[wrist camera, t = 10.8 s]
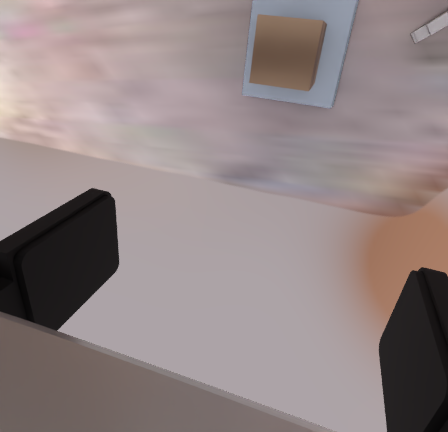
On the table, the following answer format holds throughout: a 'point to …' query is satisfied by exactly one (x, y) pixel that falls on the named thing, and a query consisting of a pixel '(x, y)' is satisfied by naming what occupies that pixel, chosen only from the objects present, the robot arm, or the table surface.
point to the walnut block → (287, 51)
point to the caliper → (430, 27)
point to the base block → (330, 55)
